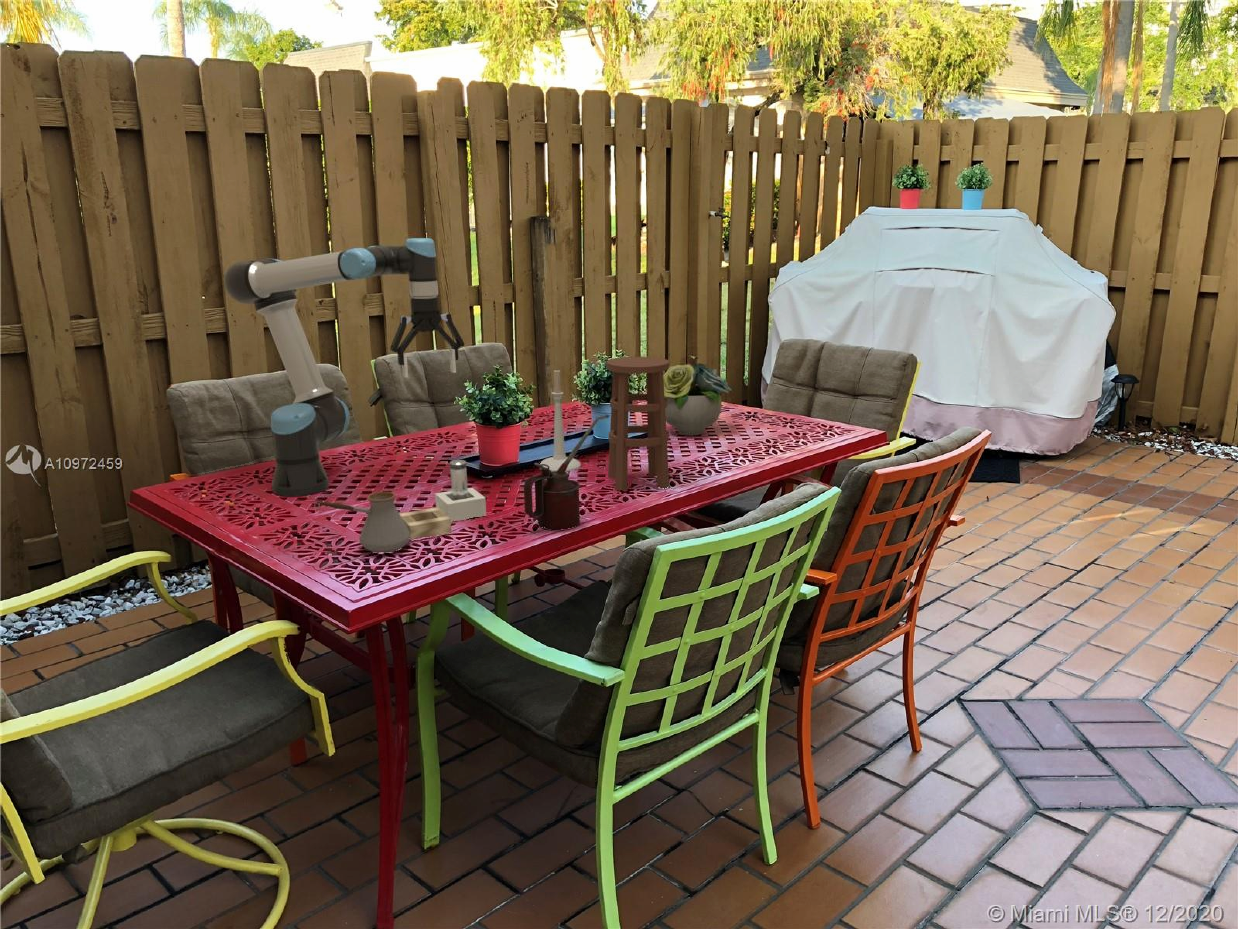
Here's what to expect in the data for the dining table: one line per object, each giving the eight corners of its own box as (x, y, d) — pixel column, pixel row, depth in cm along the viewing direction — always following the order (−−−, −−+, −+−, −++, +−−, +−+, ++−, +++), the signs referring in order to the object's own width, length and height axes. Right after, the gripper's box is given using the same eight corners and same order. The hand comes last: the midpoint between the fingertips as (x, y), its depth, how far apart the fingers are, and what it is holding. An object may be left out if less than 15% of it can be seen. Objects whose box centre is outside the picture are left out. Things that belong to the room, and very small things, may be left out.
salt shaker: (456, 517, 225) (452, 465, 221) (450, 513, 228) (447, 461, 225) (471, 515, 227) (468, 462, 223) (466, 510, 230) (462, 459, 226)
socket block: (411, 542, 209) (409, 526, 208) (399, 529, 217) (398, 514, 216) (451, 534, 213) (450, 518, 212) (438, 522, 222) (437, 507, 221)
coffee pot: (396, 535, 213) (391, 476, 209) (420, 549, 205) (415, 487, 200) (311, 558, 200) (303, 495, 195) (332, 573, 191) (325, 508, 187)
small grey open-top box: (448, 523, 221) (447, 504, 220) (436, 511, 230) (435, 493, 228) (486, 516, 226) (485, 497, 224) (472, 505, 234) (471, 487, 233)
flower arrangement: (688, 421, 325) (689, 355, 318) (740, 433, 307) (742, 363, 300) (639, 432, 309) (639, 363, 302) (692, 446, 291) (693, 372, 284)
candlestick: (534, 462, 273) (531, 366, 265) (574, 458, 277) (572, 364, 269) (544, 474, 262) (540, 374, 253) (585, 469, 265) (583, 371, 257)
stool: (647, 370, 229) (588, 363, 240) (647, 497, 239) (590, 485, 250) (686, 359, 245) (628, 353, 256) (685, 480, 255) (629, 469, 265)
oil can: (544, 539, 210) (540, 437, 203) (515, 528, 217) (510, 430, 210) (625, 510, 229) (624, 417, 222) (596, 501, 237) (594, 410, 230)
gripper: (463, 293, 248) (467, 368, 254) (374, 298, 236) (381, 376, 242) (472, 295, 241) (477, 372, 247) (382, 300, 230) (388, 380, 236)
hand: (429, 374), depth 245 cm, fingers open, 13 cm apart
